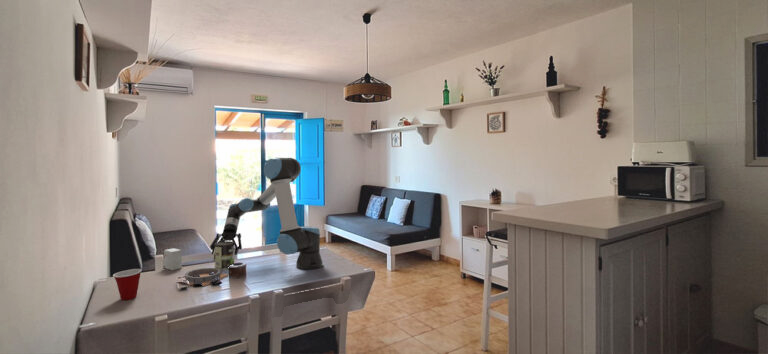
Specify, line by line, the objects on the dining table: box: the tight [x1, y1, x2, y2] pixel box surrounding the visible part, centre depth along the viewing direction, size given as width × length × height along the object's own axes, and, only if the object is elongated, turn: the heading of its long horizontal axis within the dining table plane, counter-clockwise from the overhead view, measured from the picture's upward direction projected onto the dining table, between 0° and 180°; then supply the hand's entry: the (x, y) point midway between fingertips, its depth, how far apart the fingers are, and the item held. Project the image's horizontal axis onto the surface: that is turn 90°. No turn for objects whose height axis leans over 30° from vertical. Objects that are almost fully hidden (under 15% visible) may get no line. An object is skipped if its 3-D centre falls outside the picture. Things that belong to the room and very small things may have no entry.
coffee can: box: [214, 240, 235, 271], centre depth 219 cm, size 10×10×14 cm
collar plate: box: [176, 267, 229, 287], centre depth 198 cm, size 17×17×4 cm
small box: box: [163, 248, 183, 271], centre depth 216 cm, size 8×6×10 cm
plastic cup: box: [112, 268, 143, 301], centre depth 171 cm, size 11×11×12 cm
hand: (223, 259), depth 216 cm, fingers closed on coffee can, 10 cm apart
